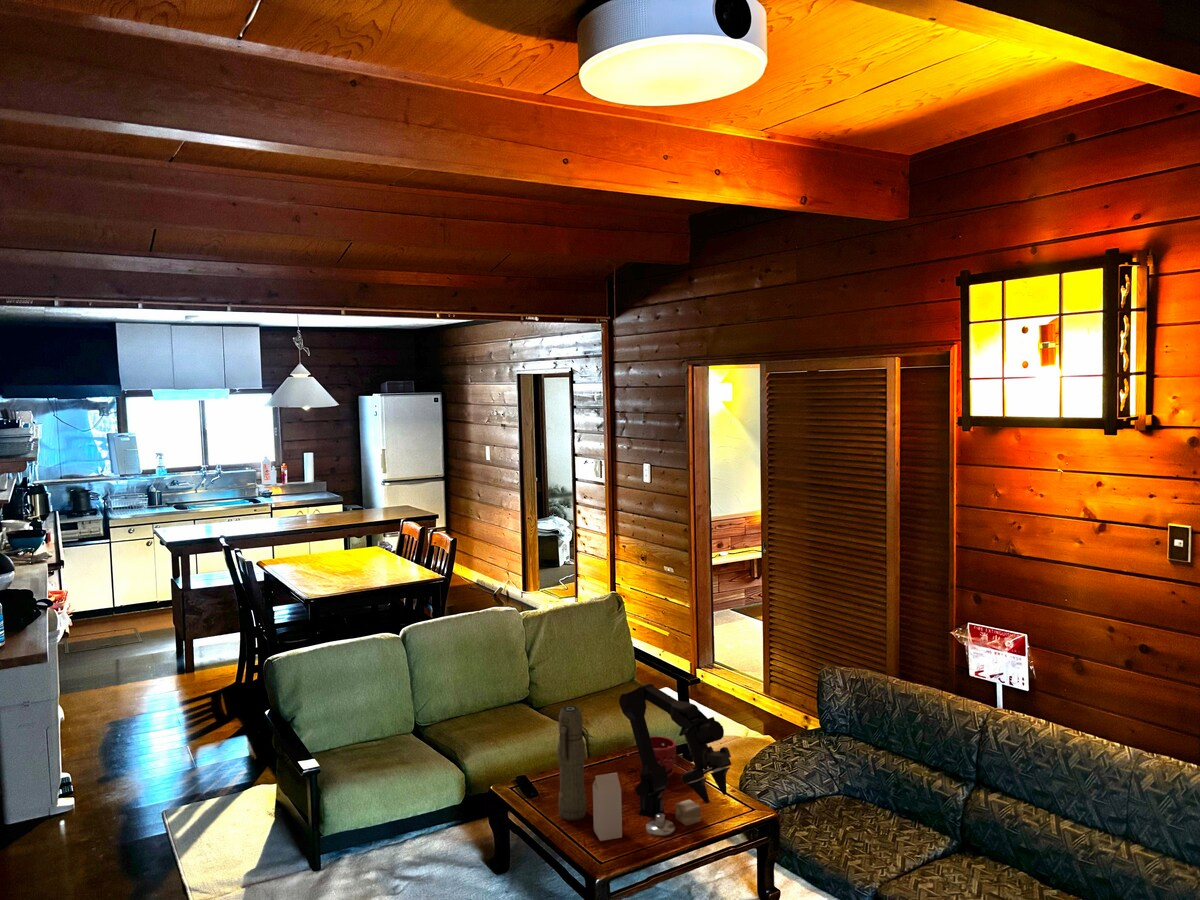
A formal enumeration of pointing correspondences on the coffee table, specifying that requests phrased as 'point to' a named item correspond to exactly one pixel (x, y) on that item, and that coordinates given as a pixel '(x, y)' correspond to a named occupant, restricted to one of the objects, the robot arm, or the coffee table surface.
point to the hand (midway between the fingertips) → (716, 798)
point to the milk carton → (607, 807)
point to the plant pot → (664, 752)
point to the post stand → (660, 826)
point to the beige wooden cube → (687, 812)
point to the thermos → (571, 764)
